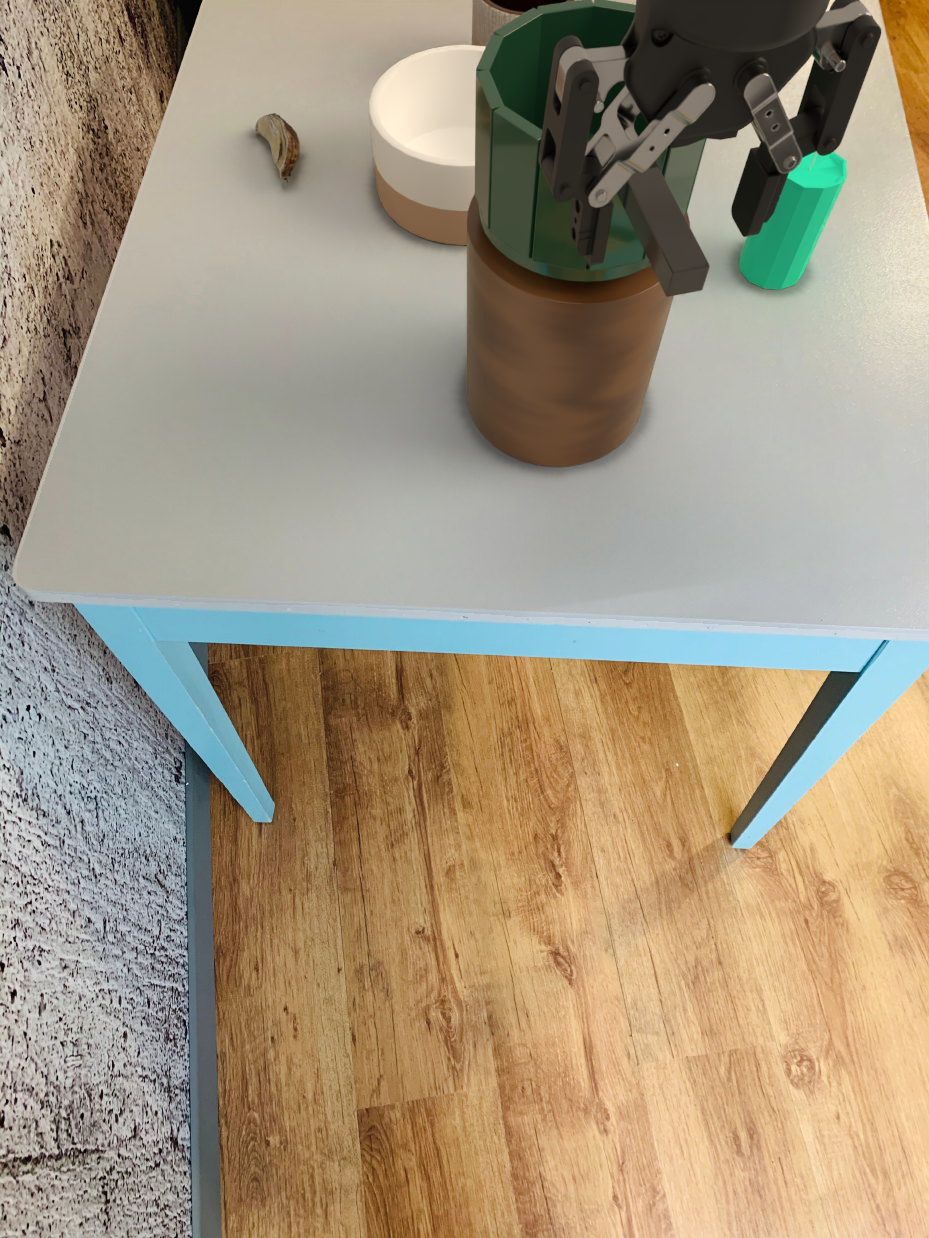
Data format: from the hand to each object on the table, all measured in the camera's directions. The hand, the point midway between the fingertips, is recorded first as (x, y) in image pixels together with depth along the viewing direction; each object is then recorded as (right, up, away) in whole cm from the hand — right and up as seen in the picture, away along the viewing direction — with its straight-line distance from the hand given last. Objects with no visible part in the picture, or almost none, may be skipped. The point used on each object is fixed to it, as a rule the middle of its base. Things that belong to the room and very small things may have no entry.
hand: (667, 239), depth 45 cm
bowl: (-11, +23, +40) cm, 47 cm away
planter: (-5, +38, +47) cm, 60 cm away
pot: (-2, +4, +10) cm, 11 cm away
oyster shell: (-29, +26, +42) cm, 57 cm away
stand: (-3, -1, +28) cm, 29 cm away
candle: (+18, +13, +35) cm, 41 cm away
